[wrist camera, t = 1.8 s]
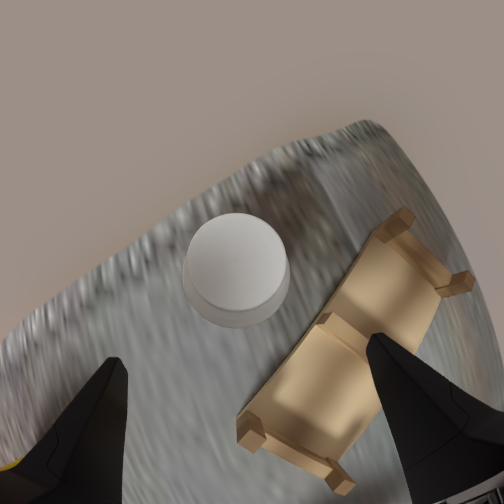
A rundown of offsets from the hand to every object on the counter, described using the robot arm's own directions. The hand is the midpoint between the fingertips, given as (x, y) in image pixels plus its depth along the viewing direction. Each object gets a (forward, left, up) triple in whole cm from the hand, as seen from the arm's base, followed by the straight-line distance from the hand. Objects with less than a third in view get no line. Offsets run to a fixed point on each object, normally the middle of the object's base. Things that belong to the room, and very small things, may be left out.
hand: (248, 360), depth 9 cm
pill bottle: (+3, -3, -11) cm, 12 cm away
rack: (-8, -5, -11) cm, 14 cm away
